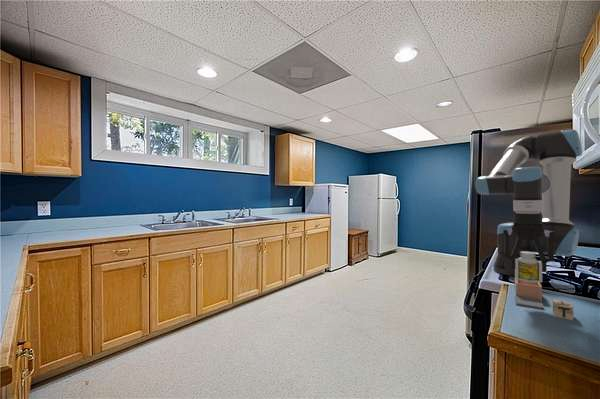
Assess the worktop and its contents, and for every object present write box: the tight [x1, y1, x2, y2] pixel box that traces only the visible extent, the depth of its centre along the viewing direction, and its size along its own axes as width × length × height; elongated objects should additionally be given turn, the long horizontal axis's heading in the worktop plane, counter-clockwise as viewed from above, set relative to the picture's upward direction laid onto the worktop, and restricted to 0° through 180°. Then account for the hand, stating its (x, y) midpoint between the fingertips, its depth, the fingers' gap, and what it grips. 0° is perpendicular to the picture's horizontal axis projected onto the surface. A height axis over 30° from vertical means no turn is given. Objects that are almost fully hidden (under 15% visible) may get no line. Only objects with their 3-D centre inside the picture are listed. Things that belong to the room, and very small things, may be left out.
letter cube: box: [552, 299, 574, 321], centre depth 81 cm, size 4×4×4 cm
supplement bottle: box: [518, 251, 539, 282], centre depth 90 cm, size 5×5×10 cm
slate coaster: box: [514, 295, 545, 310], centre depth 91 cm, size 7×7×1 cm
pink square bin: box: [514, 277, 543, 302], centre depth 97 cm, size 7×7×5 cm
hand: (528, 279), depth 90 cm, fingers closed on supplement bottle, 5 cm apart
